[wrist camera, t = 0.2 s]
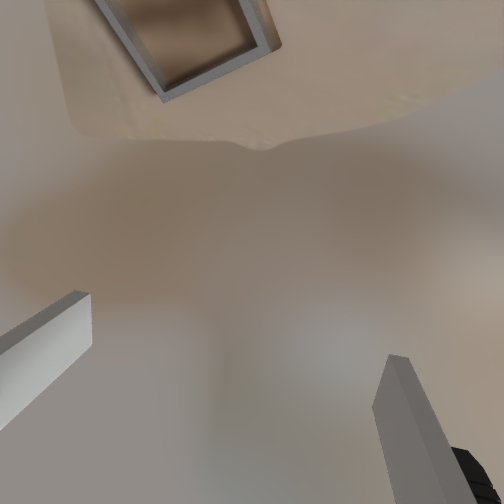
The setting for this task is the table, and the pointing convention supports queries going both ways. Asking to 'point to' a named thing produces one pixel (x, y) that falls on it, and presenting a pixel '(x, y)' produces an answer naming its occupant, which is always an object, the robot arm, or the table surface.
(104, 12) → the grey square frame
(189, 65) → the walnut plate
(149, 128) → the table surface
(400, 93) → the table surface
